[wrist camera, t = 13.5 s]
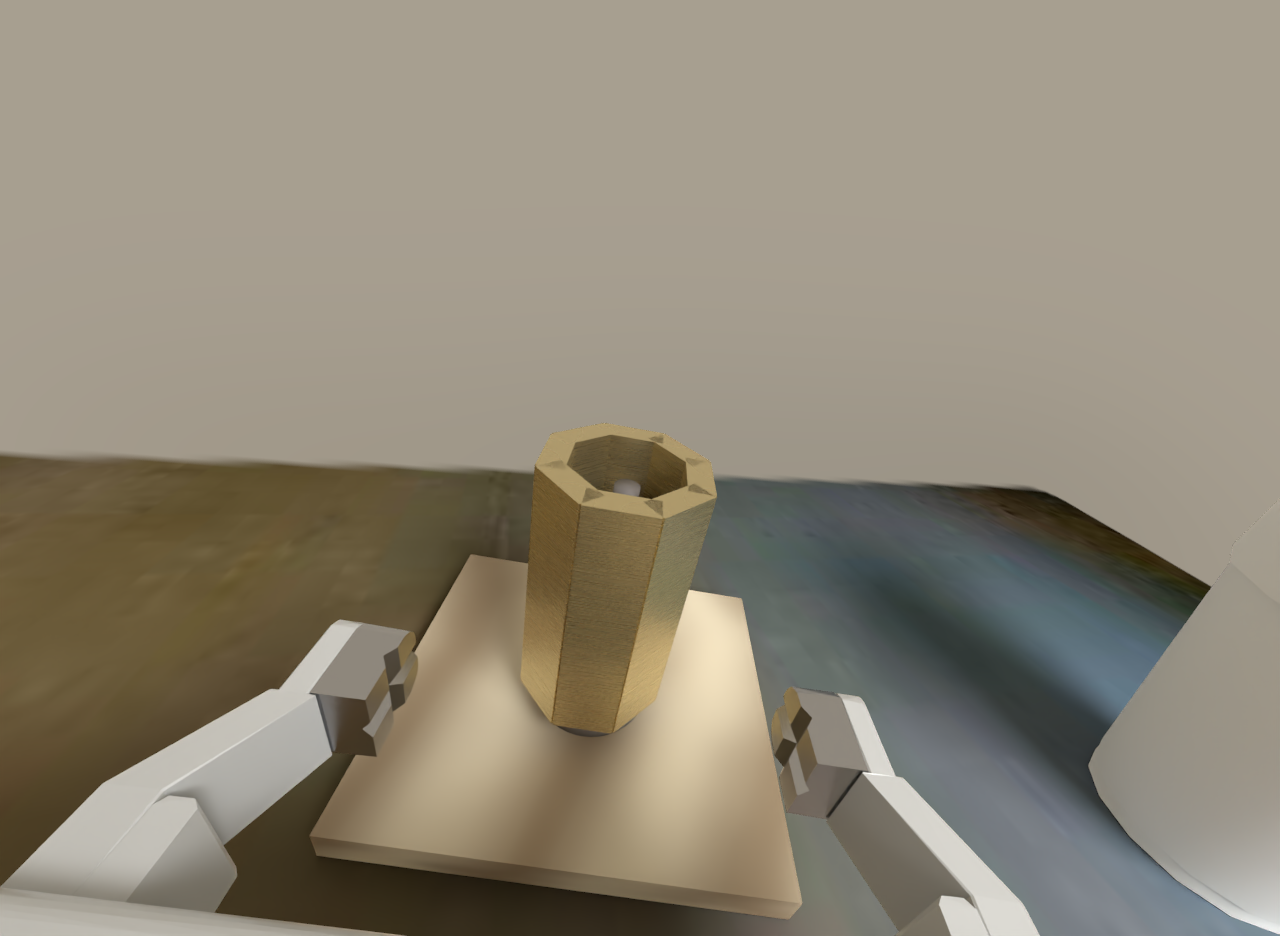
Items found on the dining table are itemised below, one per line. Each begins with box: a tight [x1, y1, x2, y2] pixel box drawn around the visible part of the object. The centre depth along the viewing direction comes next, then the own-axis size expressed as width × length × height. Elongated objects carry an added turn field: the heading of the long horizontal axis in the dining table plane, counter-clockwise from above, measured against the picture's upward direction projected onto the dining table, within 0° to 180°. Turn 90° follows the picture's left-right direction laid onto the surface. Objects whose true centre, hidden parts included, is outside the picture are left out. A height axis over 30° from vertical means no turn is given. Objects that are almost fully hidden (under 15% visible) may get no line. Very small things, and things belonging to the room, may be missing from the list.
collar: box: [520, 423, 717, 734], centre depth 15 cm, size 5×5×9 cm
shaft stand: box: [309, 479, 802, 920], centre depth 16 cm, size 14×12×10 cm
